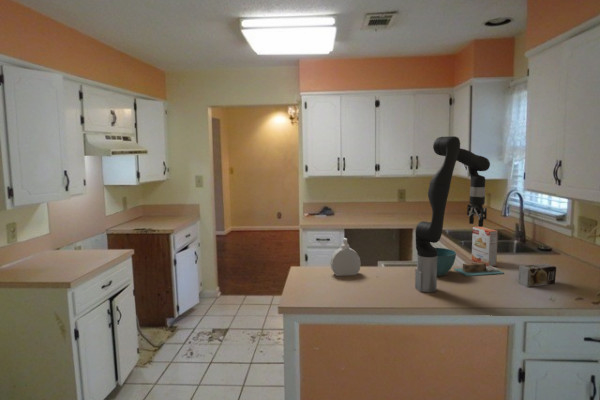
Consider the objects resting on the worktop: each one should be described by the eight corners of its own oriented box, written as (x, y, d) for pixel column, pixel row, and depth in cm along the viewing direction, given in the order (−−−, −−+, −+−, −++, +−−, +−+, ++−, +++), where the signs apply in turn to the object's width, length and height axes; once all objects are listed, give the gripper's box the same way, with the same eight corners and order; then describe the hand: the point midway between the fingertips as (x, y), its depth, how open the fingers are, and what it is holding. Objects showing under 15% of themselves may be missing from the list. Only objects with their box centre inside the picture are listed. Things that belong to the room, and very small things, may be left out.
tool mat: (465, 276, 210) (466, 275, 210) (454, 269, 222) (454, 268, 222) (503, 273, 213) (503, 272, 213) (490, 267, 225) (490, 266, 225)
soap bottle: (358, 271, 222) (358, 237, 219) (360, 274, 217) (360, 239, 214) (330, 273, 220) (329, 238, 217) (332, 276, 215) (331, 240, 212)
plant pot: (413, 272, 218) (413, 251, 217) (432, 266, 229) (433, 245, 228) (442, 281, 204) (443, 258, 202) (461, 273, 215) (462, 251, 213)
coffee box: (528, 269, 192) (556, 266, 195) (518, 265, 198) (546, 262, 201) (527, 287, 193) (555, 284, 196) (517, 283, 199) (545, 280, 202)
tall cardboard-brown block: (467, 273, 213) (467, 266, 213) (460, 269, 220) (460, 262, 219) (498, 271, 216) (498, 264, 215) (490, 267, 222) (490, 260, 222)
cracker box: (470, 260, 239) (472, 226, 236) (479, 259, 241) (480, 225, 238) (488, 267, 226) (489, 231, 223) (496, 265, 228) (498, 230, 225)
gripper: (463, 194, 217) (462, 223, 219) (478, 197, 203) (477, 228, 205) (476, 193, 218) (474, 222, 220) (492, 196, 204) (490, 227, 206)
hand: (475, 225), depth 213 cm, fingers open, 8 cm apart
